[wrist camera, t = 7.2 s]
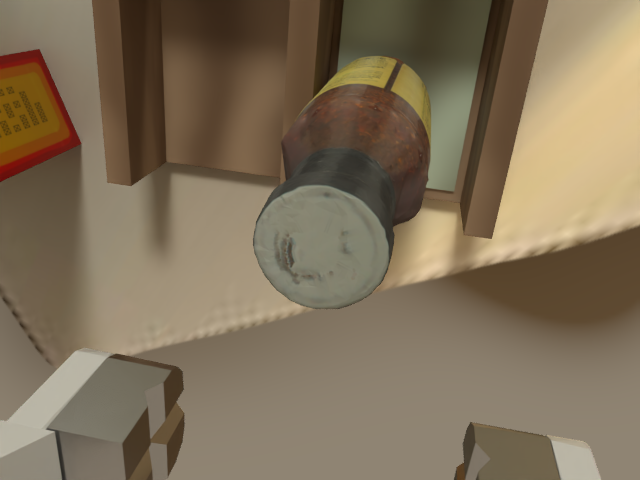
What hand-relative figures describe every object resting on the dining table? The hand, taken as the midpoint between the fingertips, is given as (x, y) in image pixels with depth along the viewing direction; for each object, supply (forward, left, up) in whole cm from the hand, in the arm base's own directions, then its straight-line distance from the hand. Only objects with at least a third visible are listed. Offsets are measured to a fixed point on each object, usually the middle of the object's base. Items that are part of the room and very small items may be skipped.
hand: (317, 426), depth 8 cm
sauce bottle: (-1, -1, -28) cm, 28 cm away
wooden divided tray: (-5, +1, -29) cm, 29 cm away
